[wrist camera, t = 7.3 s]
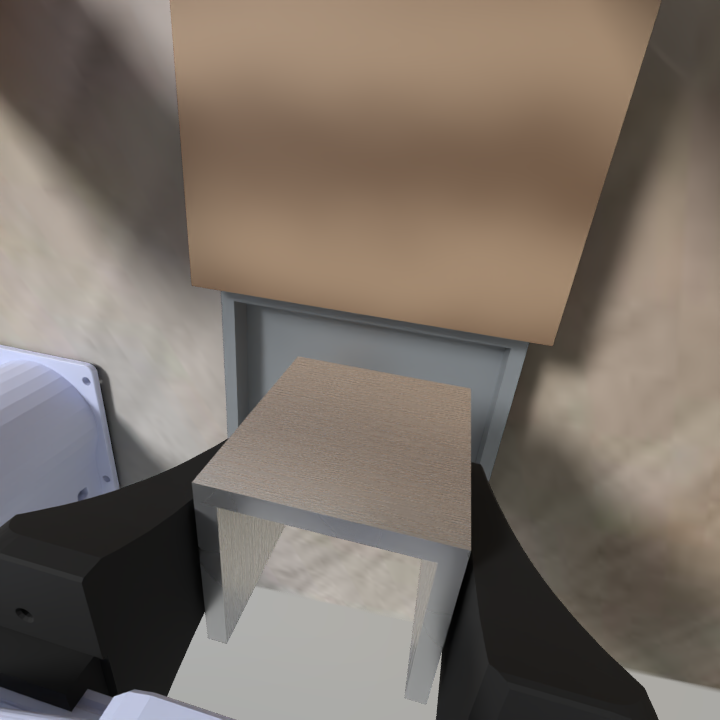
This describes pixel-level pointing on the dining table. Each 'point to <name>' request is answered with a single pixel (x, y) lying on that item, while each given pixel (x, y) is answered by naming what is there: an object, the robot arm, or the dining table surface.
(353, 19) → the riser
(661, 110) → the dining table surface
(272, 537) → the grey arch
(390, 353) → the tray
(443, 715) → the robot arm
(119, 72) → the dining table surface
